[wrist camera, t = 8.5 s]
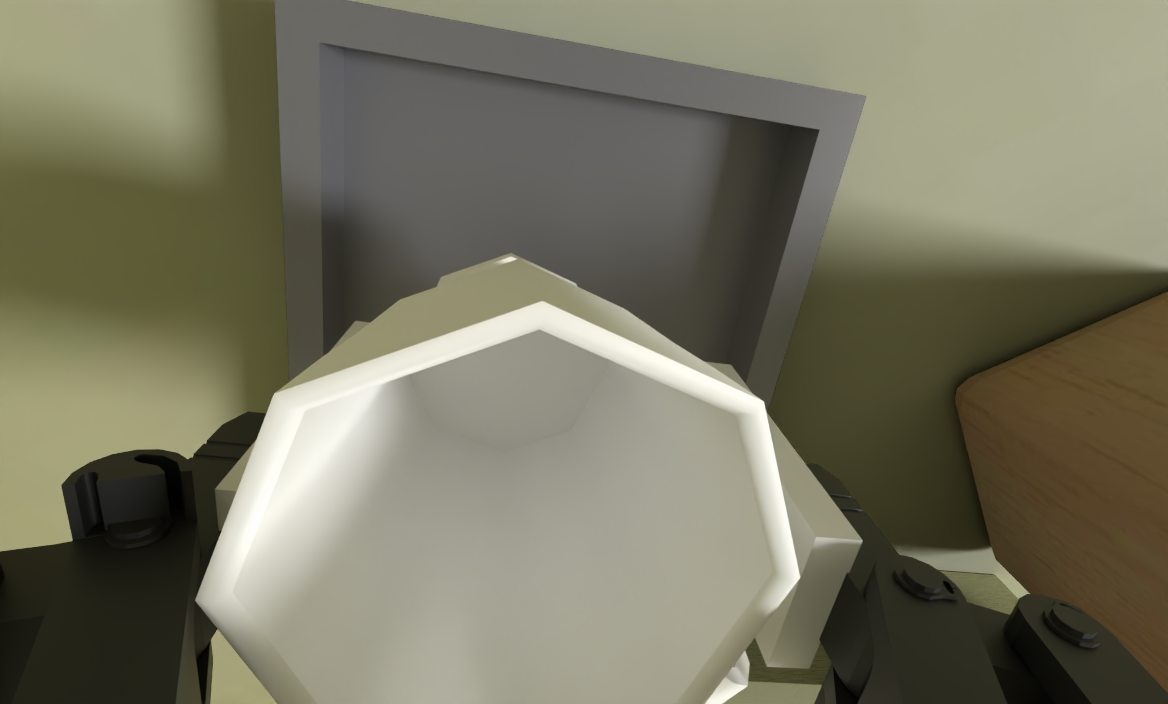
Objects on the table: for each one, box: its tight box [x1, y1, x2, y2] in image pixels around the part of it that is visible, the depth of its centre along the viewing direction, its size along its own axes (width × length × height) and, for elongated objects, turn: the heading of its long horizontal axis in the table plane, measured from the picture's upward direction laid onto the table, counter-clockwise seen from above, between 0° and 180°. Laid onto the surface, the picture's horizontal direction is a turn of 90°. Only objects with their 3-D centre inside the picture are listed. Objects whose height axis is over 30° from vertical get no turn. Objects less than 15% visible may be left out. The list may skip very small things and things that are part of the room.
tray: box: [274, 0, 866, 412], centre depth 19 cm, size 16×15×3 cm
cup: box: [195, 253, 800, 704], centre depth 11 cm, size 7×10×8 cm
